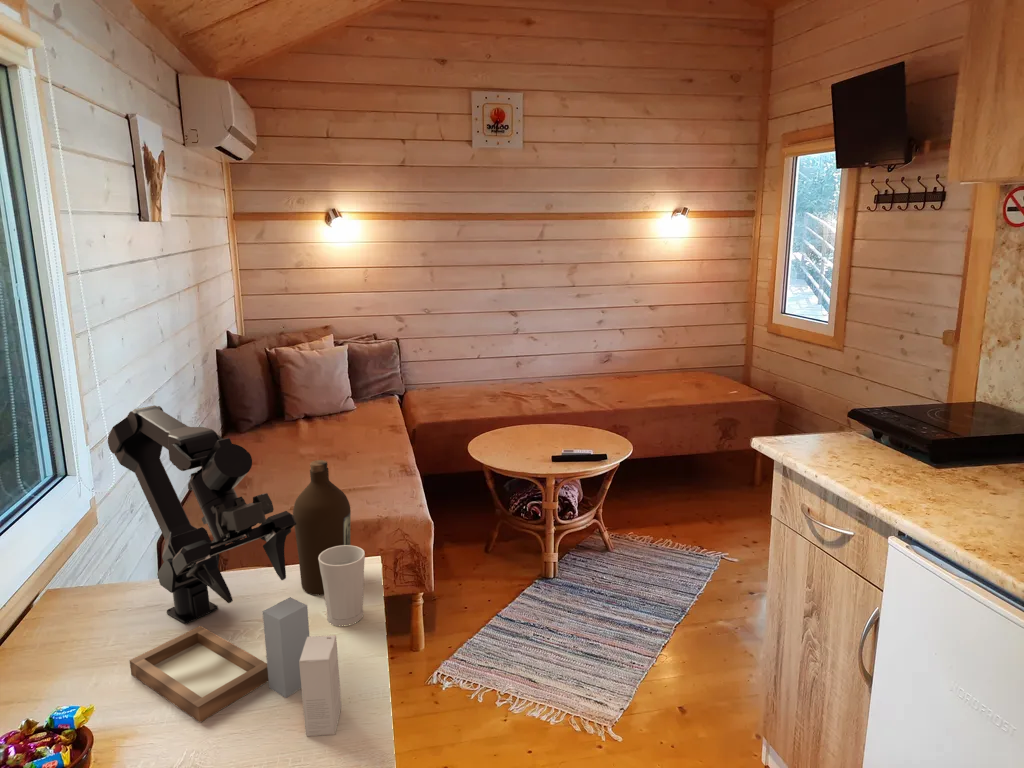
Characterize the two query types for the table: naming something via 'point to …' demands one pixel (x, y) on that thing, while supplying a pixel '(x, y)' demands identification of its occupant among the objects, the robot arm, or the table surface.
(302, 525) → the olive oil
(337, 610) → the cup
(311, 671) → the skincare box
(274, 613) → the tall grey pillar block
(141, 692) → the table surface
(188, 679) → the wooden frame
